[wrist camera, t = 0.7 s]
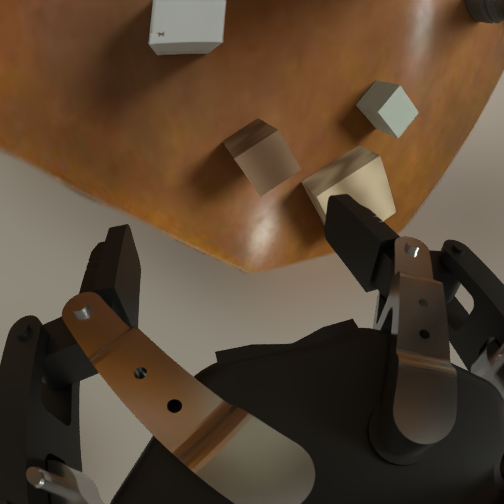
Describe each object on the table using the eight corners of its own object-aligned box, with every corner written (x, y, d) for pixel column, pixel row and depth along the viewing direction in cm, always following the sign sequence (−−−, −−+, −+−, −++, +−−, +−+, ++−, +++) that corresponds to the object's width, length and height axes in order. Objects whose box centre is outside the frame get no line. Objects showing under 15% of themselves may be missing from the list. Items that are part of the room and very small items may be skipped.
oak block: (358, 144, 36) (379, 155, 32) (377, 196, 42) (395, 211, 38) (300, 180, 38) (316, 196, 34) (326, 230, 44) (342, 249, 40)
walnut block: (258, 118, 31) (278, 130, 26) (278, 151, 34) (301, 169, 29) (222, 141, 32) (234, 158, 26) (244, 173, 35) (260, 196, 29)
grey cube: (375, 80, 31) (399, 85, 27) (394, 105, 33) (418, 112, 30) (355, 104, 33) (377, 112, 29) (375, 128, 35) (398, 138, 31)
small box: (208, 54, 25) (224, 45, 17) (155, 55, 24) (147, 47, 16) (213, -9, 21) (233, -41, 12) (161, -9, 19) (157, -42, 11)
